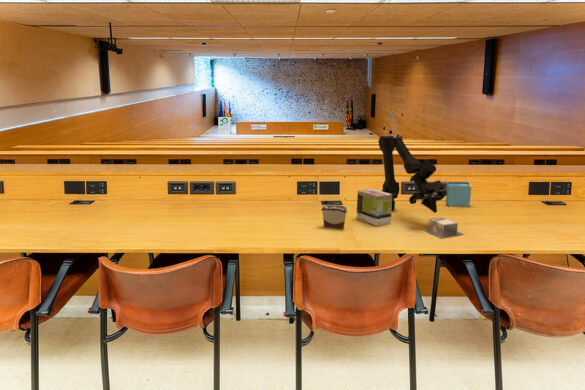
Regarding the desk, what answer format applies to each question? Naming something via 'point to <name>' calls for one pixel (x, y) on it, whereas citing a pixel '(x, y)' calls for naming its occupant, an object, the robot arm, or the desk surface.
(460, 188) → the teal square slab
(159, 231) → the desk surface
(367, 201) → the tea box
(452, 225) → the cream block
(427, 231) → the mat
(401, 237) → the desk surface
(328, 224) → the food container
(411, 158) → the robot arm
